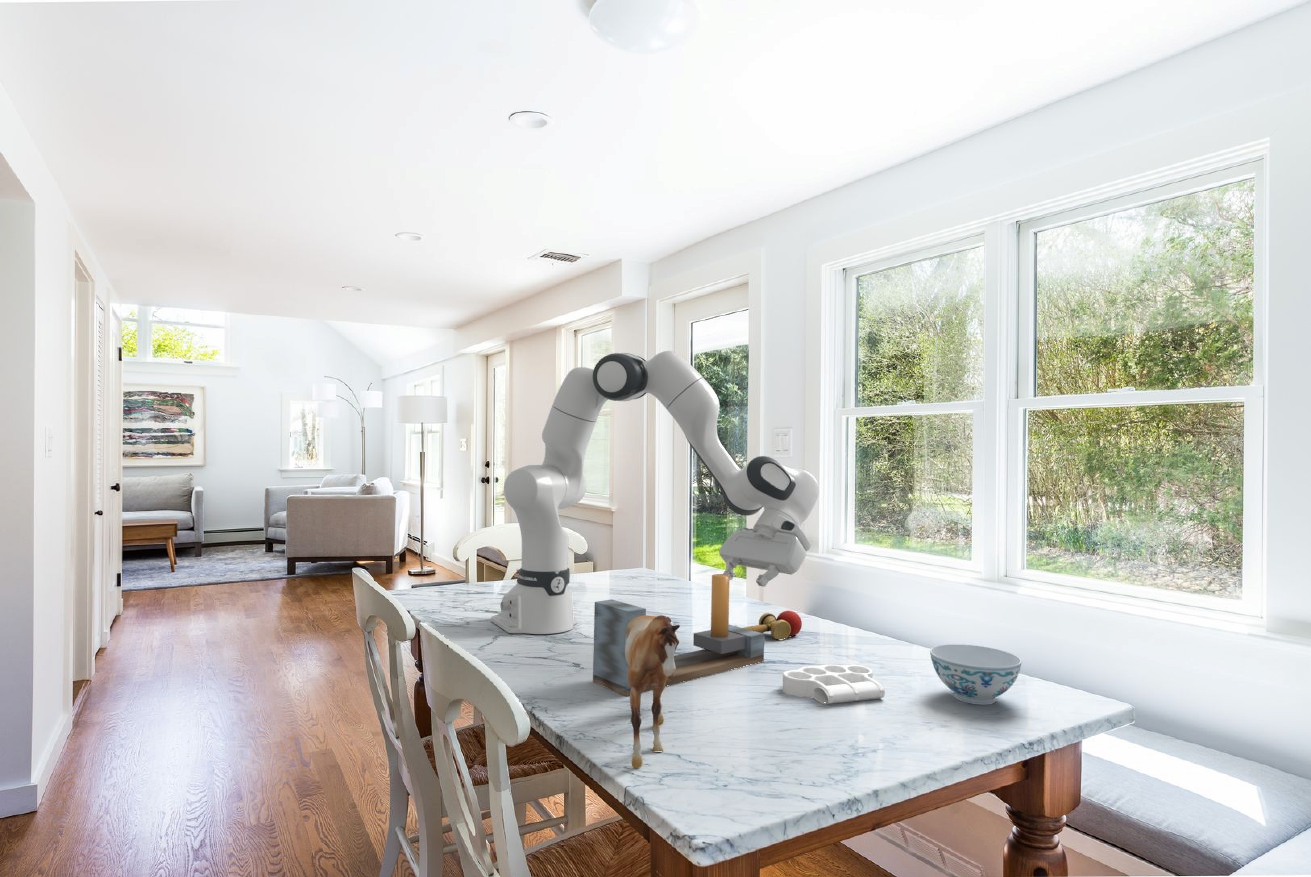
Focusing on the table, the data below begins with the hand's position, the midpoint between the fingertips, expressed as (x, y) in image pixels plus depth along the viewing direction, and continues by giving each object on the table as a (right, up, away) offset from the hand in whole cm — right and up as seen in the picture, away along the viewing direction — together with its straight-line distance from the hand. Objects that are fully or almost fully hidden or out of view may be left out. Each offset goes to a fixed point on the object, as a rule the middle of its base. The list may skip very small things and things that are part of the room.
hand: (742, 581), depth 157 cm
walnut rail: (-13, -15, -11) cm, 23 cm away
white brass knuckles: (+14, -16, -21) cm, 30 cm away
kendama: (+8, -17, +17) cm, 25 cm away
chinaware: (+38, -17, -24) cm, 48 cm away
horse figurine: (-17, -15, -45) cm, 50 cm away
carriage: (-5, -13, -5) cm, 14 cm away
